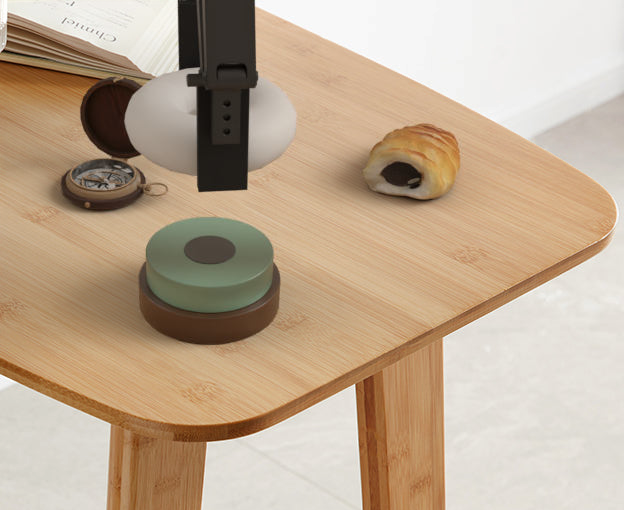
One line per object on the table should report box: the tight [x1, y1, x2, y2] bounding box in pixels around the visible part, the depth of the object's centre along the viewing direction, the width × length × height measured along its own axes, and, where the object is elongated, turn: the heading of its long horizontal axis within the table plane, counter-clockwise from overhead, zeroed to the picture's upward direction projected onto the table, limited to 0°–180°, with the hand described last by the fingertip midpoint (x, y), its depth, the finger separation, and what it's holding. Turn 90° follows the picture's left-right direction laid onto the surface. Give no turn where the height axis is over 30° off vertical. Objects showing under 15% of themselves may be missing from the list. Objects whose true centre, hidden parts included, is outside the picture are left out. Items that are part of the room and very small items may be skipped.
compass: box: [60, 75, 169, 211], centre depth 82 cm, size 8×8×7 cm
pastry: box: [362, 122, 461, 200], centre depth 87 cm, size 9×7×4 cm
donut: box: [124, 68, 298, 177], centre depth 66 cm, size 10×3×10 cm
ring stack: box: [138, 216, 281, 345], centre depth 72 cm, size 9×9×4 cm
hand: (211, 142), depth 67 cm, fingers closed on donut, 10 cm apart
